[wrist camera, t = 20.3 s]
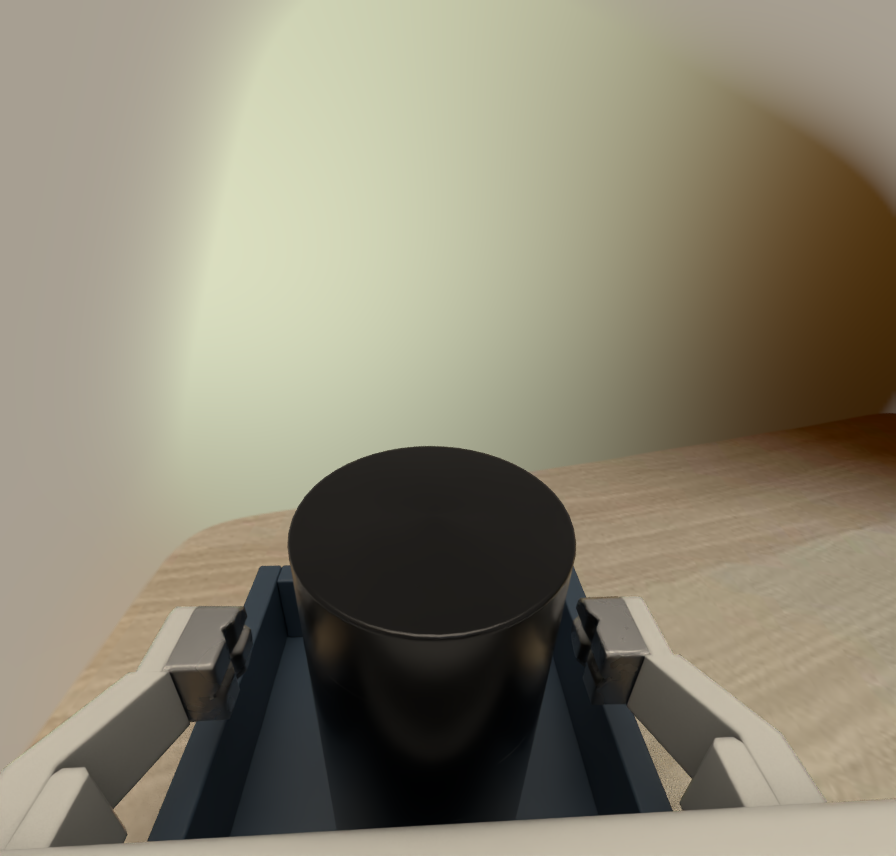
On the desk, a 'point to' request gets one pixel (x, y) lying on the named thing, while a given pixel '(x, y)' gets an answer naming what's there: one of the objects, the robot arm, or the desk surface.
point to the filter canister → (429, 630)
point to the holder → (301, 755)
